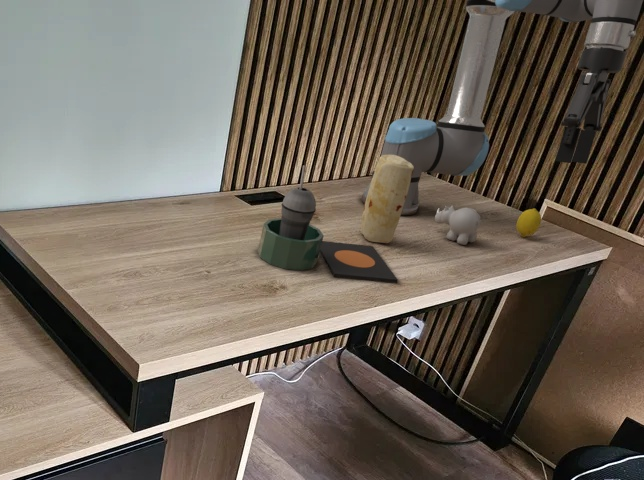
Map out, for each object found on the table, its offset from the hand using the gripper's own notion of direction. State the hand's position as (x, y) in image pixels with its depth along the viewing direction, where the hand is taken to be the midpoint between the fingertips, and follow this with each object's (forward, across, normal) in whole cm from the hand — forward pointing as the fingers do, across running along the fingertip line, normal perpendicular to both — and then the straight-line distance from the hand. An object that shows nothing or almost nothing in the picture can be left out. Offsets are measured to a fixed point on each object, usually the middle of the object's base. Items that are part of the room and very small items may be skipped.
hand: (571, 162), depth 140 cm
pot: (+26, -32, +43) cm, 60 cm away
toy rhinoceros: (+22, +18, +26) cm, 39 cm away
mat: (+26, -21, +33) cm, 47 cm away
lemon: (+21, +39, +15) cm, 47 cm away
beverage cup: (+27, -32, +43) cm, 60 cm away
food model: (+24, -3, +37) cm, 44 cm away
